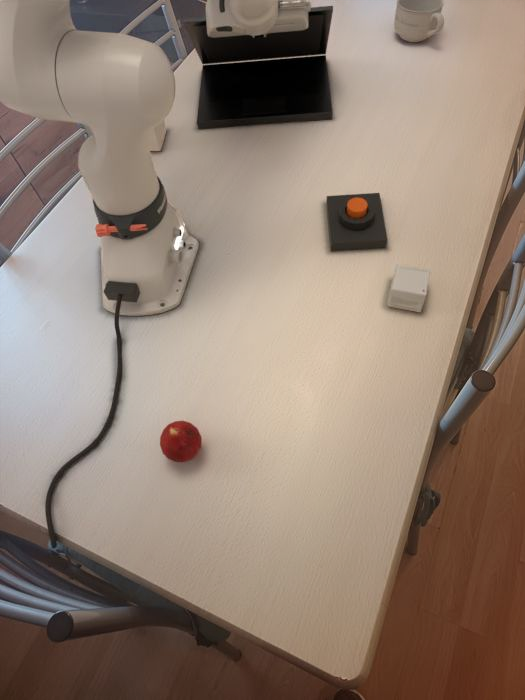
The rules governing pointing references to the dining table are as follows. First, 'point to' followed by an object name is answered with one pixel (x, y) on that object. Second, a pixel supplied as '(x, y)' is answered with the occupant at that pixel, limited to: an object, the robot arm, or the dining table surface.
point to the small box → (408, 288)
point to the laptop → (264, 92)
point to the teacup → (418, 19)
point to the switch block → (355, 224)
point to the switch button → (357, 208)
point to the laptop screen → (262, 41)
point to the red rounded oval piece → (180, 441)
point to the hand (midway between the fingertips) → (259, 33)
